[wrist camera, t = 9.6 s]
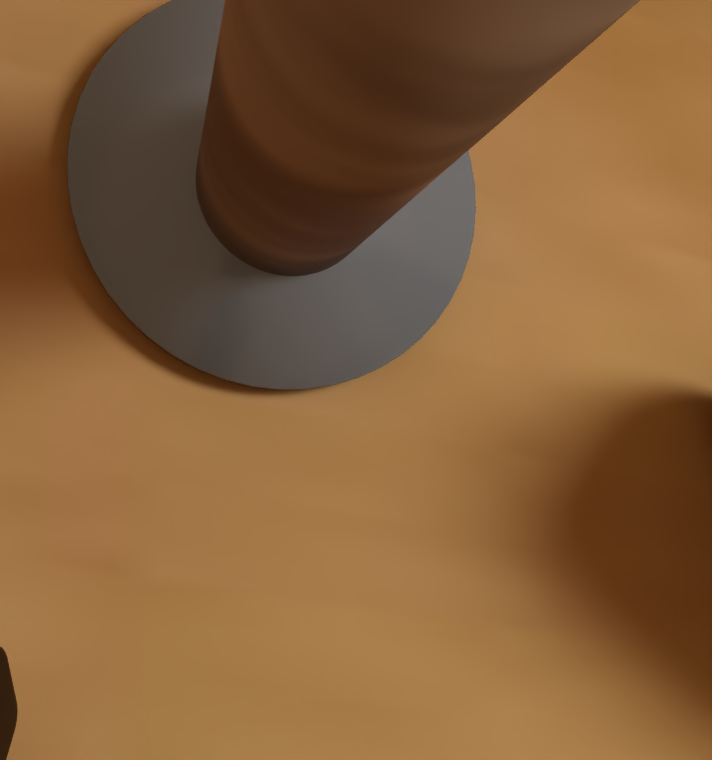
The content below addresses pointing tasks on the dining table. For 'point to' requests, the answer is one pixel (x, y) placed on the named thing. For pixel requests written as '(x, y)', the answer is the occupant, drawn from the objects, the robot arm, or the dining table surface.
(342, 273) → the coaster
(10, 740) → the robot arm
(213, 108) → the pepper mill
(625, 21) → the dining table surface
